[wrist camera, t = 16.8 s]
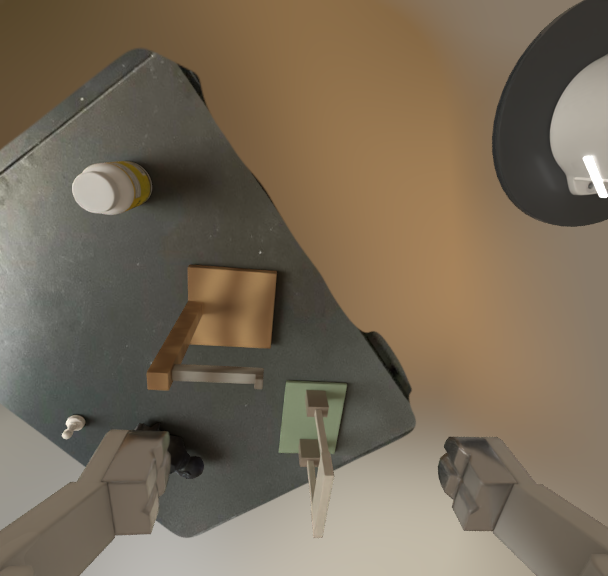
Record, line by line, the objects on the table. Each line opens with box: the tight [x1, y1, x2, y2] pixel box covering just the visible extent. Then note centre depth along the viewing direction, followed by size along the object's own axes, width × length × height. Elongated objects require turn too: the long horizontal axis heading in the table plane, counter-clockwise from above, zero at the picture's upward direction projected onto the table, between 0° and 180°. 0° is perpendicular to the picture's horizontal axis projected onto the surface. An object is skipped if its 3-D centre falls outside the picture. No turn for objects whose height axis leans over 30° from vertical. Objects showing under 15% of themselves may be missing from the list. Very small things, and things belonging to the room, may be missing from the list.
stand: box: [147, 265, 277, 390], centre depth 42 cm, size 12×12×18 cm
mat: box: [279, 380, 347, 454], centre depth 59 cm, size 10×15×1 cm, turn 174°
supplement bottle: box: [72, 161, 152, 215], centre depth 38 cm, size 5×5×10 cm
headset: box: [298, 390, 334, 538], centre depth 51 cm, size 3×12×16 cm, turn 174°
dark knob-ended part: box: [135, 422, 204, 479], centre depth 55 cm, size 6×13×6 cm, turn 55°
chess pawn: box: [62, 415, 85, 439], centre depth 54 cm, size 3×3×4 cm
